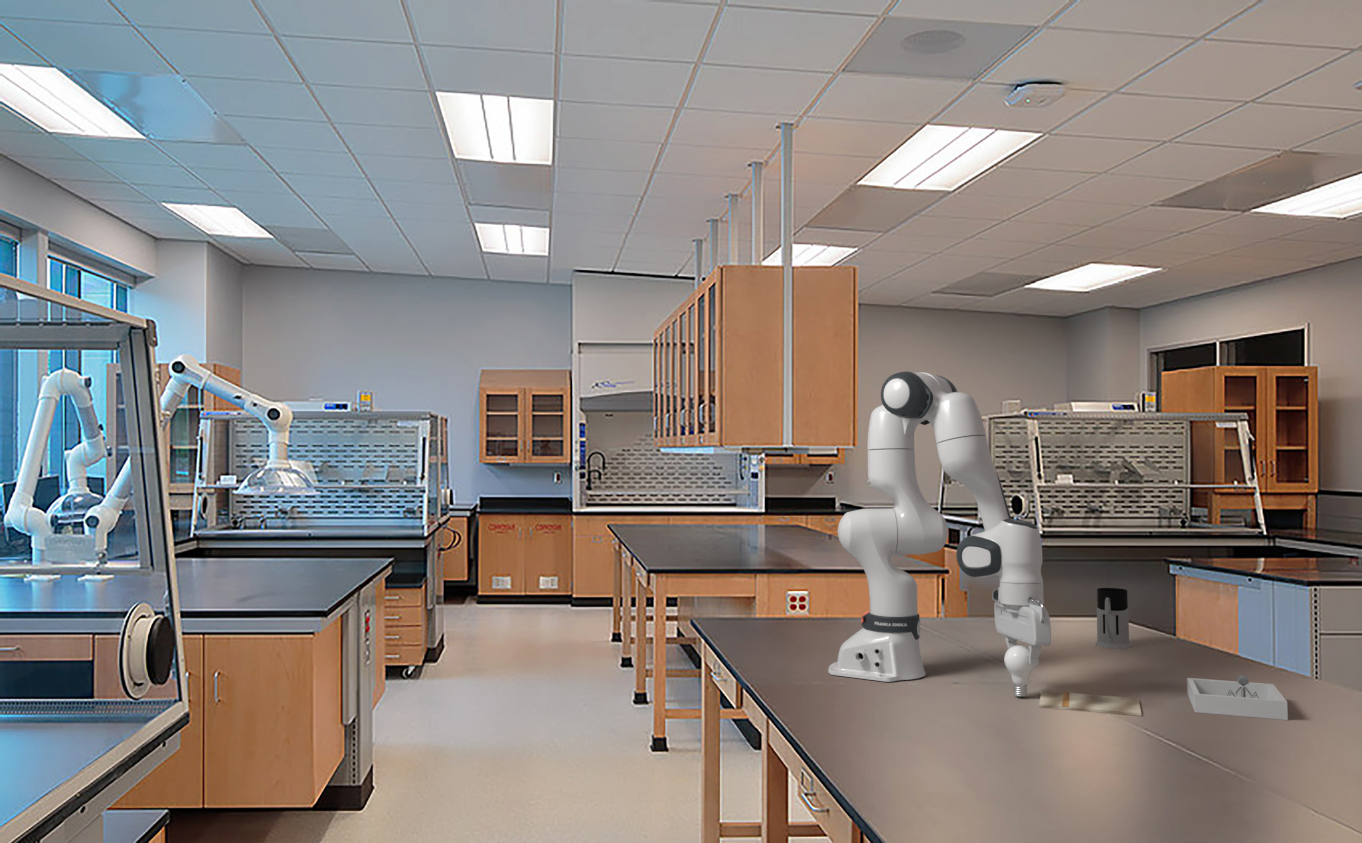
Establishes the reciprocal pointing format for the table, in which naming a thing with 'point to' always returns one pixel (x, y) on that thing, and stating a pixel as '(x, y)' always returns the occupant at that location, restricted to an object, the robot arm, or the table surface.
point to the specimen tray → (1236, 699)
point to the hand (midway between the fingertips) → (1023, 661)
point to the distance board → (1090, 703)
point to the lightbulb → (1018, 668)
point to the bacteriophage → (1243, 681)
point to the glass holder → (1112, 618)
